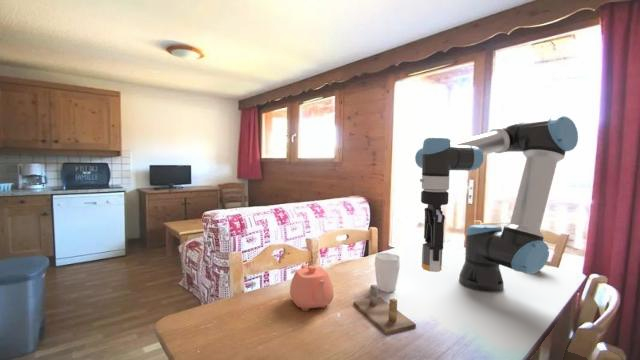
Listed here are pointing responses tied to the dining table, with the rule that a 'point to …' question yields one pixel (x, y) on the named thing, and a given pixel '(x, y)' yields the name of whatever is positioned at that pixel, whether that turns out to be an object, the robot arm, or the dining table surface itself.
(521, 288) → the dining table surface
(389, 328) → the pin board
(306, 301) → the teapot
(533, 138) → the robot arm
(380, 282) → the cup
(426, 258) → the sleeve
